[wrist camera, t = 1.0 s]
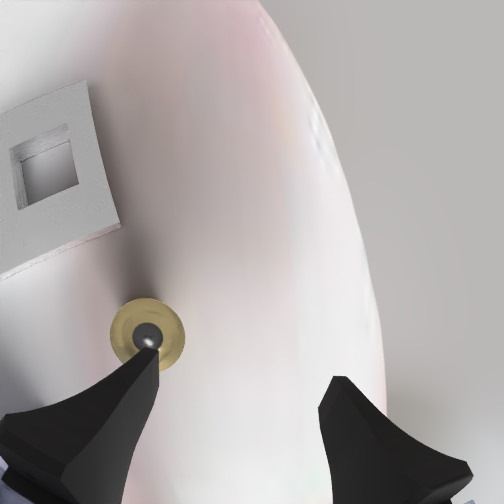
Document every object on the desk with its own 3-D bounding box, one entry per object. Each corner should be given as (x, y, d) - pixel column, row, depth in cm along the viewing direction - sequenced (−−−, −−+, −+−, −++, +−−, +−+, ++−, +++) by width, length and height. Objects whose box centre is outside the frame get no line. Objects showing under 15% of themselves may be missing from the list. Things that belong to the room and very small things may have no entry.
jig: (-33, 298, 13) (-50, 302, 11) (-54, 169, 12) (-69, 160, 9) (121, 227, 20) (119, 222, 17) (89, 98, 18) (86, 79, 16)
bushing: (130, 353, 20) (131, 384, 14) (106, 302, 19) (97, 316, 14) (179, 332, 21) (196, 355, 16) (157, 281, 21) (167, 287, 15)
